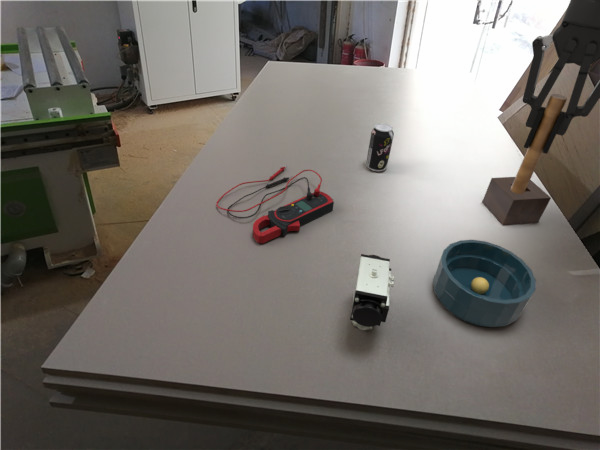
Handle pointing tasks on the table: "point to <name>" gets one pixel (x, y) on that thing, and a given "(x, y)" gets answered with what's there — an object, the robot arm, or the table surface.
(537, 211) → the holder
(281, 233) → the digital clamp meter
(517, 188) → the stirring stick
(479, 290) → the bead
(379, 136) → the beverage can
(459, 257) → the bowl
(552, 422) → the table surface
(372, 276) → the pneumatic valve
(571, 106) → the robot arm
